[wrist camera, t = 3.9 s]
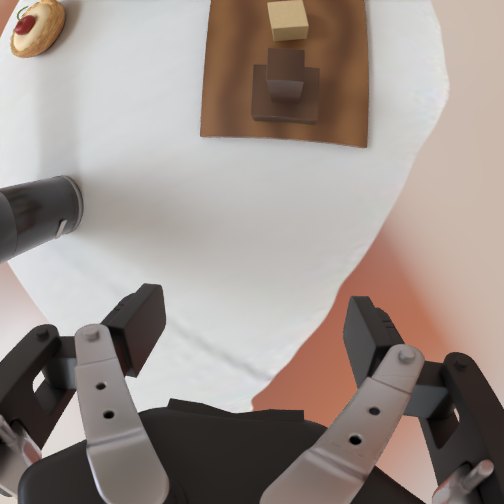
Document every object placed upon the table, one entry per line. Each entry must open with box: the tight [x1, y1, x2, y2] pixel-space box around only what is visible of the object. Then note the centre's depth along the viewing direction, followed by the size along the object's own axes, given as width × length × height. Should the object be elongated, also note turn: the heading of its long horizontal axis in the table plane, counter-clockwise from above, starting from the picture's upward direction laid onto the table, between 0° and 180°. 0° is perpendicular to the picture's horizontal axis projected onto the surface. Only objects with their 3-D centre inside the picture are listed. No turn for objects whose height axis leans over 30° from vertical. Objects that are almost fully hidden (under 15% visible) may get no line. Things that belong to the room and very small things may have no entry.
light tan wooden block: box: [267, 0, 309, 41], centre depth 26 cm, size 4×4×4 cm
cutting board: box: [200, 0, 369, 148], centre depth 29 cm, size 20×26×2 cm
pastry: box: [10, 0, 65, 58], centre depth 26 cm, size 12×12×9 cm
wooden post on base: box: [251, 48, 320, 125], centre depth 24 cm, size 7×6×13 cm
